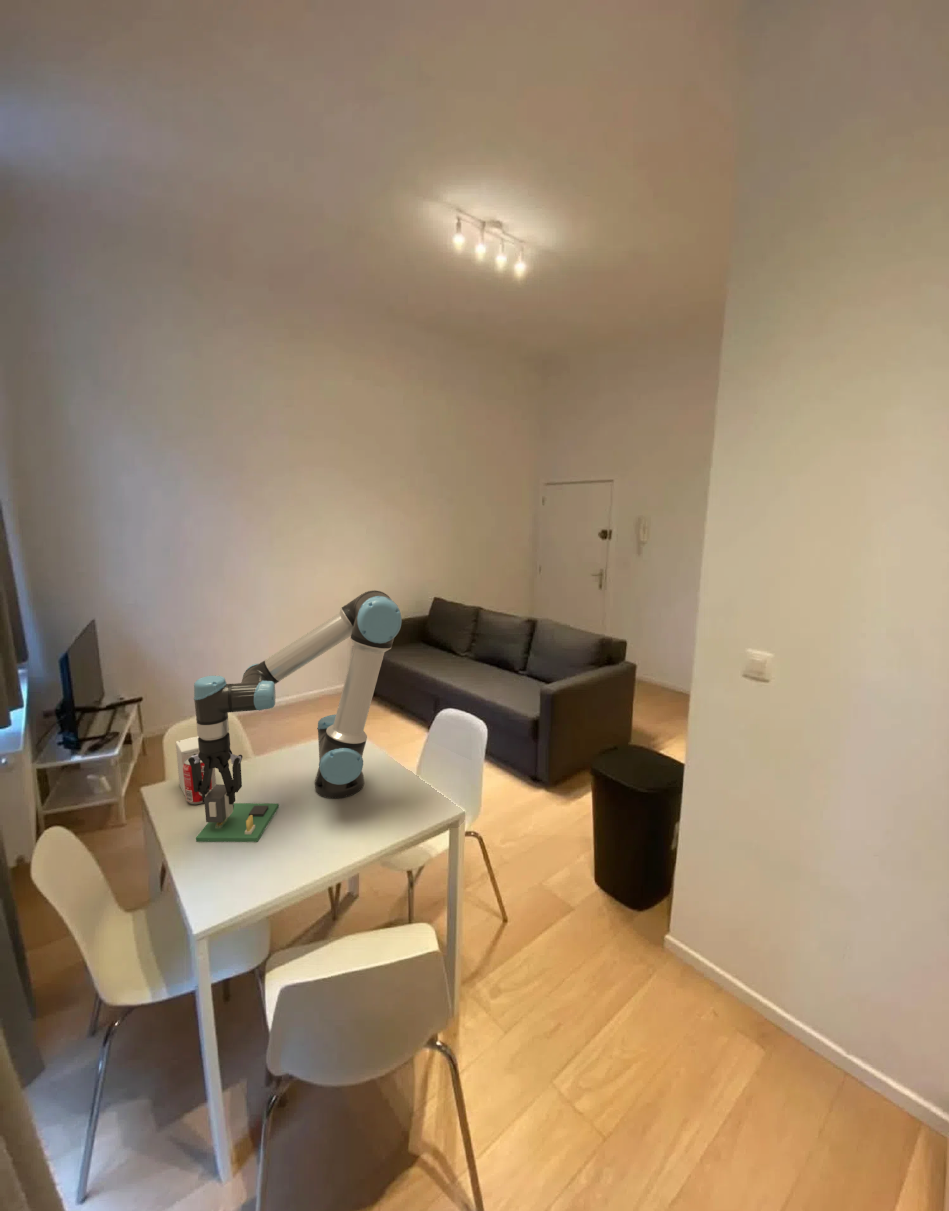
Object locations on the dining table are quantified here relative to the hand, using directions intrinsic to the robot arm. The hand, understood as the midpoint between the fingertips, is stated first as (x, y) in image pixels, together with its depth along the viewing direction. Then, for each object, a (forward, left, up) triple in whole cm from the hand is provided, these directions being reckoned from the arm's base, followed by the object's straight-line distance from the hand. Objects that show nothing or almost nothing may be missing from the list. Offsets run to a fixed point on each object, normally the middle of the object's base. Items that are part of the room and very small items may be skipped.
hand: (220, 813), depth 143 cm
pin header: (0, 0, -3) cm, 3 cm away
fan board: (-4, -2, -4) cm, 6 cm away
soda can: (+13, -14, -4) cm, 20 cm away
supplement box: (+17, -21, -4) cm, 27 cm away
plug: (0, 0, 0) cm, 0 cm away
